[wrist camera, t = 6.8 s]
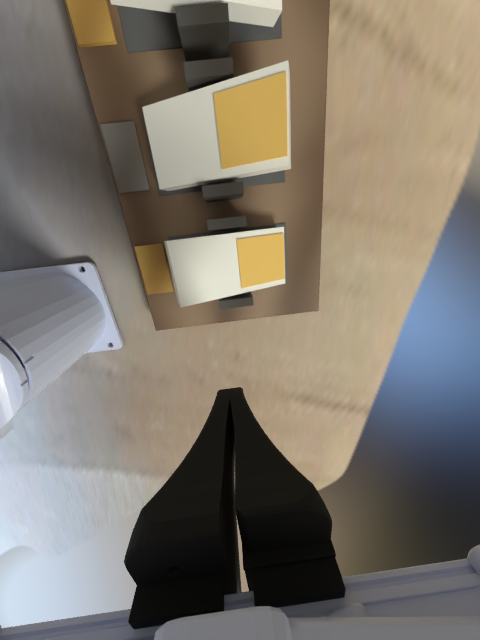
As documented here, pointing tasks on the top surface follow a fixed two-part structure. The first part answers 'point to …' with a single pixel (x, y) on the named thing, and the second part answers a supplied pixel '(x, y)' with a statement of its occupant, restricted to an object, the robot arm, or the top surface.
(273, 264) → the block
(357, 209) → the top surface
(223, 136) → the rocker middle
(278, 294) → the switch panel
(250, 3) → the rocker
